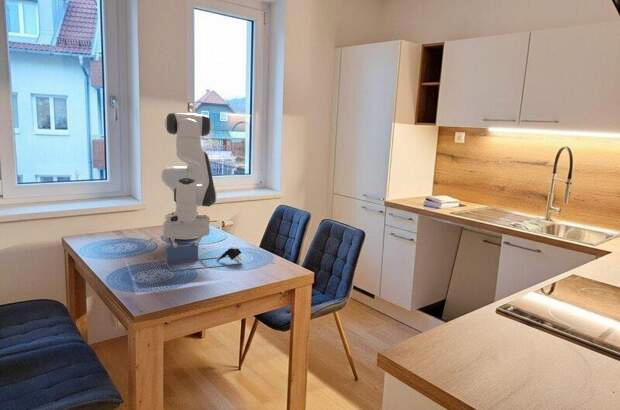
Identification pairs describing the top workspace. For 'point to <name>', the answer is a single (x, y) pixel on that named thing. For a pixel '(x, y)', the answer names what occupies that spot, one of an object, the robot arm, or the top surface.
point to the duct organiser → (187, 256)
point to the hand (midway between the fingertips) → (186, 246)
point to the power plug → (231, 254)
